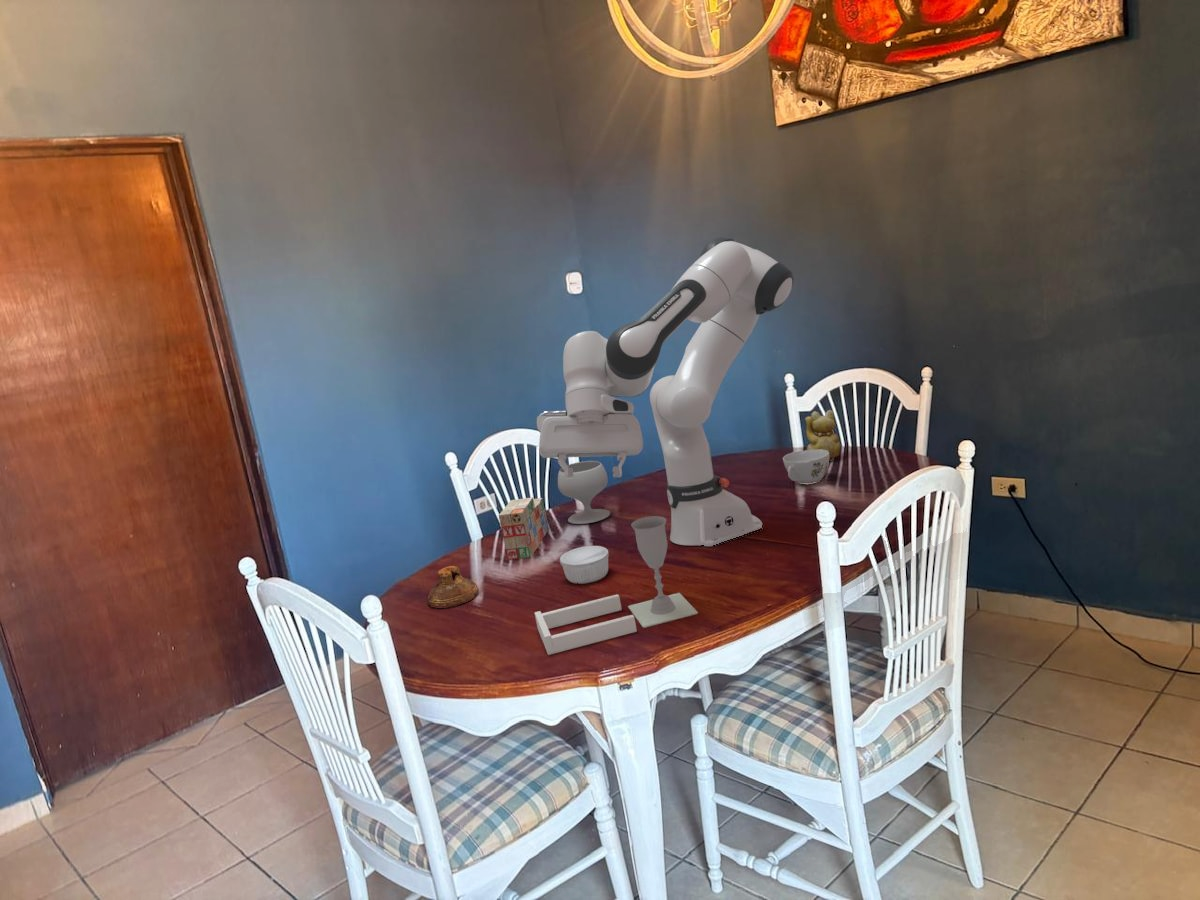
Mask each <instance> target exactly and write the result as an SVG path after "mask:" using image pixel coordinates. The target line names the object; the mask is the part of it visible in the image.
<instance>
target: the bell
mask: <svg viewBox="0 0 1200 900" xmlns="http://www.w3.org/2000/svg"><path fill="white" fill-rule="evenodd" d="M437 577H438V583H436V584H435V585H434V586H433V587H432V588H431V589H430V591H429V593H428V595H427V604H429V605H430V606H433V607H450V606H455V607H458V606H457V605H459V606H461V605H460V604H462V605H464V604H463V603H465V604H467V603H469V602H468V601H470V600H471V601H473V600H474V599H475V598H476V597H478V596H479V595H478V594H479V590H480V589H479V587H478V585H477V583H476V582H474V581H473V580H471V579H469V578H466V577H463V576H462V573H461V569H460V568H459V567H458V566H456V565H449V566H446V567H444V568H443V567H442V568H441V569H439V570H438V572H437ZM474 597H475V598H474ZM472 599H473V600H472ZM471 601H470V602H471ZM466 602H467V603H466ZM429 605H428V606H429ZM430 606H429V607H430Z"/></svg>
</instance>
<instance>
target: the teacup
mask: <svg viewBox="0 0 1200 900" xmlns="http://www.w3.org/2000/svg"><path fill="white" fill-rule="evenodd" d="M782 460H783V464H784V467H785V470H786V472H787V476H788V478H789V479H790V480H791V481H792V482H793V481H794V482H797V483H798V482H799V483H813V482H818V481H820V480H822V478H824V476H825V475H826V473H827V471H828V468H829V464H830V462H829V452H828V451H826V450H822V449H818V450H807V449H805V450H797V451H793V452H790V453H787V454H785V455H784V456H783V457H782ZM820 482H821V481H820ZM799 483H798V484H799Z"/></svg>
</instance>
